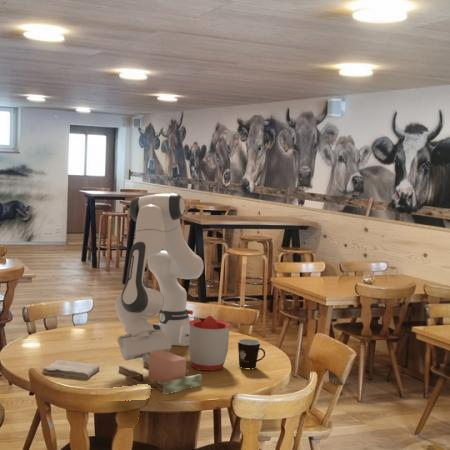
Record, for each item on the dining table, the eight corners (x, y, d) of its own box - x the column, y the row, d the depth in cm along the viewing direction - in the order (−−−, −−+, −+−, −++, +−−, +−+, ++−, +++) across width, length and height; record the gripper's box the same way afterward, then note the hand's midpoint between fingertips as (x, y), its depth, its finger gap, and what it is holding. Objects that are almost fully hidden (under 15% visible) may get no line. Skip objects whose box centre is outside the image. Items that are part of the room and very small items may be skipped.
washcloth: (54, 365, 253) (55, 357, 253) (100, 370, 250) (101, 362, 250) (40, 375, 241) (40, 366, 241) (88, 380, 238) (88, 372, 238)
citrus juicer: (223, 359, 272) (225, 310, 270) (230, 373, 254) (234, 320, 253) (184, 359, 269) (186, 309, 267) (189, 373, 252) (192, 320, 250)
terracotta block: (161, 377, 246) (162, 349, 245) (184, 386, 236) (186, 358, 236) (148, 380, 242) (149, 352, 241) (171, 390, 232) (172, 361, 231)
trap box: (157, 363, 261) (158, 353, 261) (208, 384, 241) (209, 373, 240) (105, 373, 245) (106, 363, 245) (155, 397, 224) (156, 385, 224)
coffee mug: (232, 364, 266) (234, 339, 265) (252, 363, 269) (254, 338, 268) (245, 373, 255) (247, 347, 254) (265, 372, 258) (267, 346, 258)
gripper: (119, 332, 241) (134, 365, 235) (164, 324, 255) (180, 356, 249) (111, 341, 244) (126, 375, 238) (156, 334, 259) (171, 365, 253)
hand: (154, 365), depth 244 cm, fingers closed
